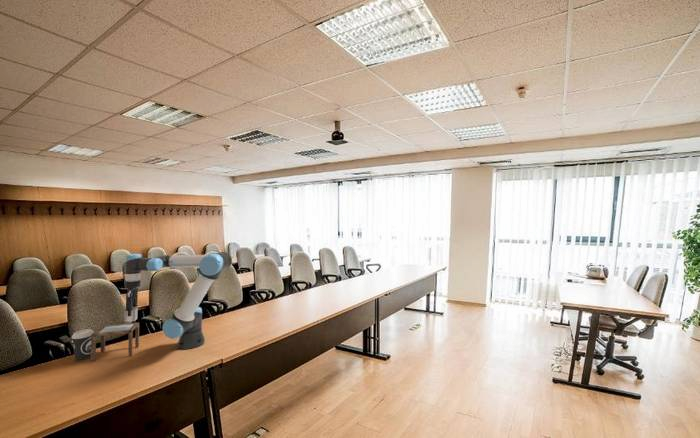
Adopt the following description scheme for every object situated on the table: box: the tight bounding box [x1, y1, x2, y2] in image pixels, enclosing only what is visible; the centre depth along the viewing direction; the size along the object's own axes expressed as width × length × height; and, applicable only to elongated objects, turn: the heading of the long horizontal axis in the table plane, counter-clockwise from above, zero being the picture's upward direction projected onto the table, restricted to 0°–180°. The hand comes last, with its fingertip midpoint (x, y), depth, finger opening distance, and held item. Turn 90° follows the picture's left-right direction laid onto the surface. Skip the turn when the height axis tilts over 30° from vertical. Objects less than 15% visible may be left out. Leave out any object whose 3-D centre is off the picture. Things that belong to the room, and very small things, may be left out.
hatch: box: [99, 324, 134, 333], centre depth 171 cm, size 14×11×1 cm
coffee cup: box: [71, 328, 95, 362], centre depth 166 cm, size 10×10×15 cm
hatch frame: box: [90, 322, 140, 363], centre depth 171 cm, size 18×14×15 cm
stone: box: [123, 306, 139, 323], centre depth 173 cm, size 5×5×7 cm
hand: (131, 319), depth 173 cm, fingers closed on stone, 5 cm apart
